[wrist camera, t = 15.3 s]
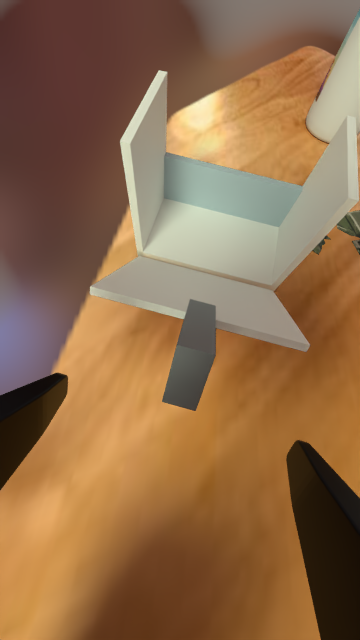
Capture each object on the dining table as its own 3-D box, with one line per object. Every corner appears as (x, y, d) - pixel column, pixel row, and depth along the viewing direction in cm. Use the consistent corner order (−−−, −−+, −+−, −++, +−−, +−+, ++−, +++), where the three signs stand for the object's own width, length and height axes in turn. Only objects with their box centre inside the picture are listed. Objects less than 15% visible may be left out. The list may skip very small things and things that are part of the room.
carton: (270, 294, 24) (358, 200, 13) (138, 259, 24) (120, 141, 14) (278, 234, 27) (355, 117, 16) (160, 203, 27) (159, 70, 17)
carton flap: (264, 310, 23) (329, 447, 10) (136, 276, 24) (33, 366, 10) (276, 282, 22) (370, 396, 9) (140, 246, 22) (28, 304, 9)
